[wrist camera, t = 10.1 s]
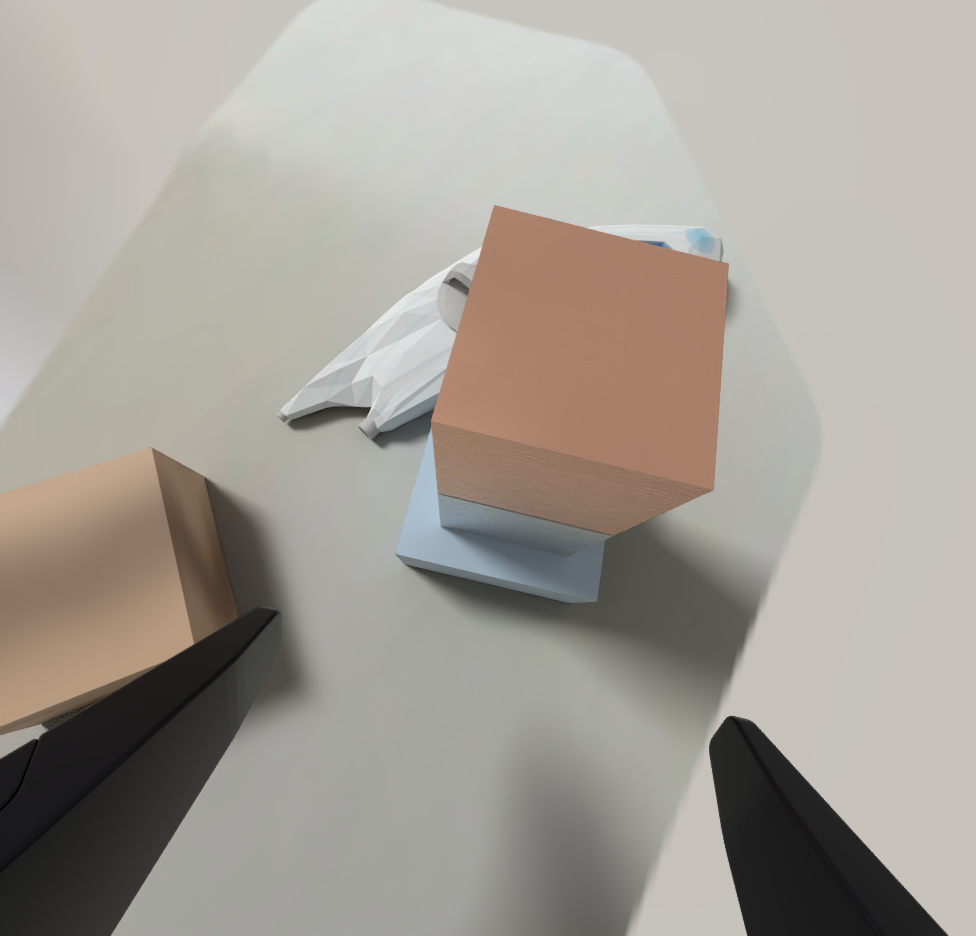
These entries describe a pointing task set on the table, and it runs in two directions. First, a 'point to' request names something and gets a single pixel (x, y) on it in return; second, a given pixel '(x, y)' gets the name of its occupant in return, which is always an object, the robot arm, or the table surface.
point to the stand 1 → (103, 582)
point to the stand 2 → (490, 551)
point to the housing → (578, 386)
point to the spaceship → (435, 340)
